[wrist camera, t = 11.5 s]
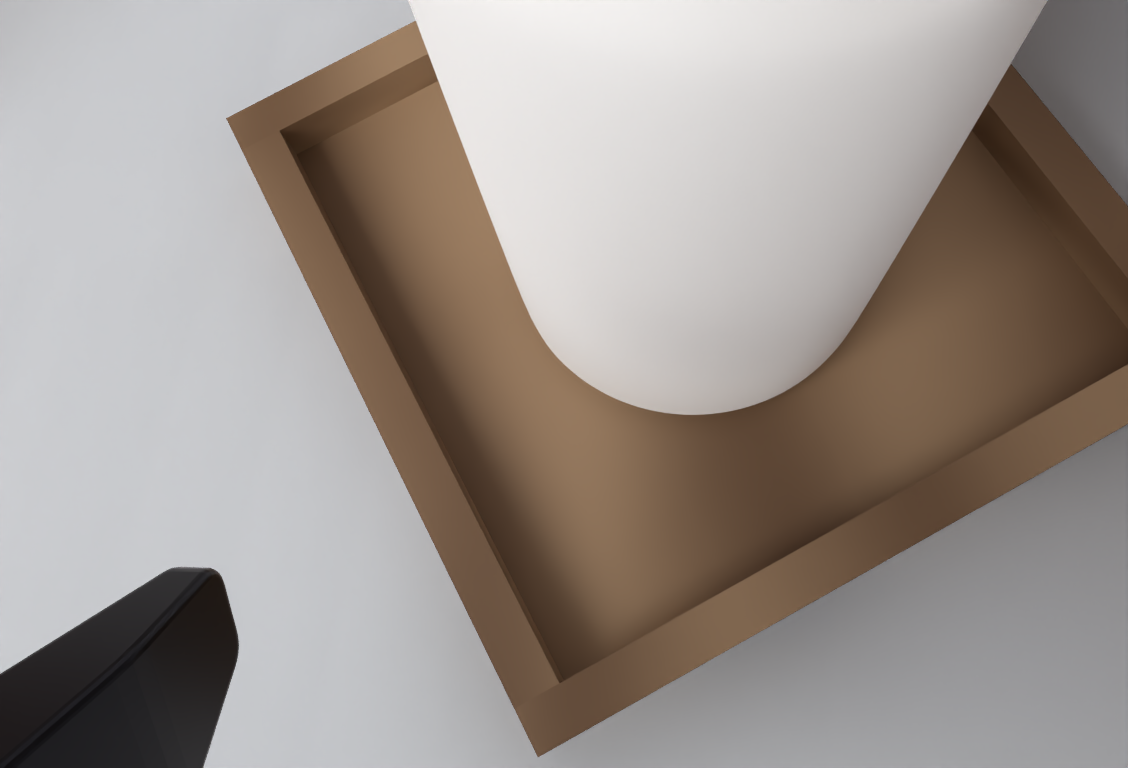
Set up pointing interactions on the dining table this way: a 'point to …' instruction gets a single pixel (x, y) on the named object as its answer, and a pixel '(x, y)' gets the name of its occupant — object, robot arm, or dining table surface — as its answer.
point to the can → (710, 169)
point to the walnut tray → (674, 441)
